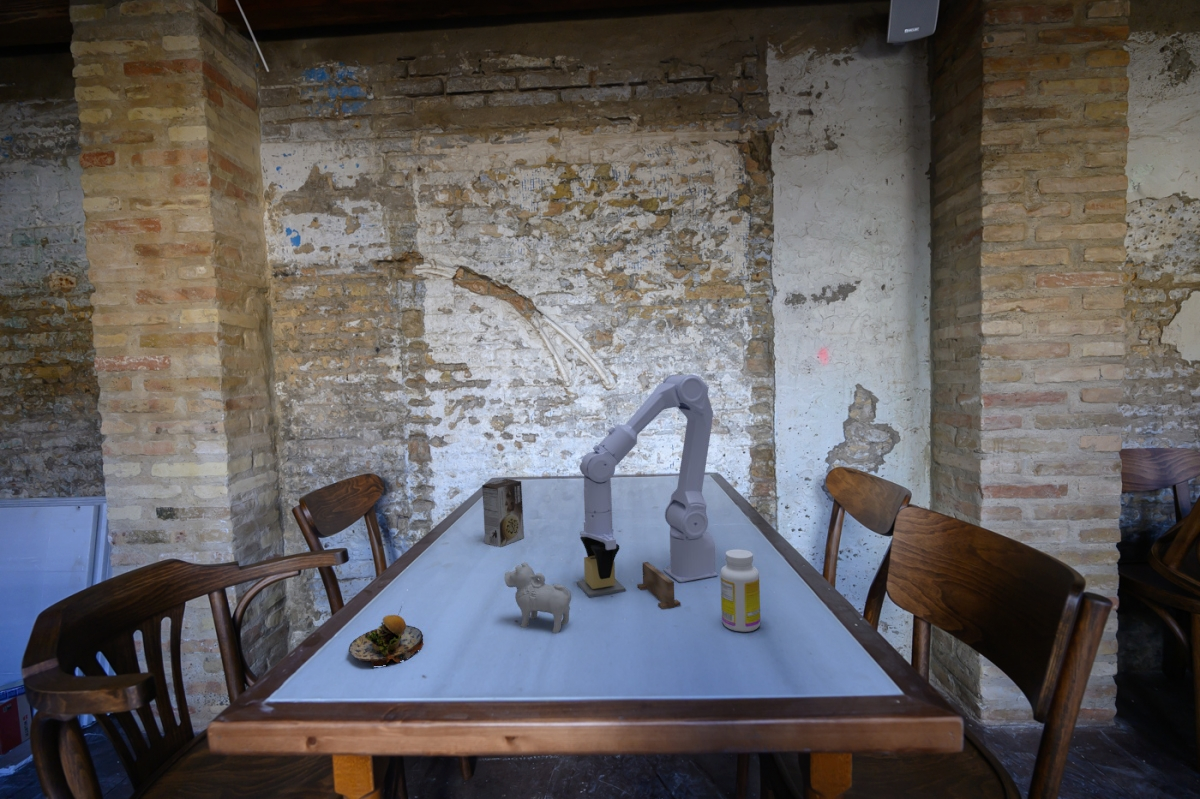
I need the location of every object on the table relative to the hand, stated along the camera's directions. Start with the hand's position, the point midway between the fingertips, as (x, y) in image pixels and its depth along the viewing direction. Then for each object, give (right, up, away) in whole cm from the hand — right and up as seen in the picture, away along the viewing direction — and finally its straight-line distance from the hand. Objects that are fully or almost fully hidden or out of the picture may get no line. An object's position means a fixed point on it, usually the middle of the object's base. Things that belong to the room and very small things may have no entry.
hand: (600, 573), depth 117 cm
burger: (-36, -6, -23) cm, 43 cm away
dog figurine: (-11, -5, -16) cm, 20 cm away
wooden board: (+12, -3, -5) cm, 13 cm away
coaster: (0, -3, 0) cm, 3 cm away
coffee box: (-26, -2, +34) cm, 43 cm away
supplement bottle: (+25, -4, -18) cm, 31 cm away
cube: (0, -2, 0) cm, 2 cm away
